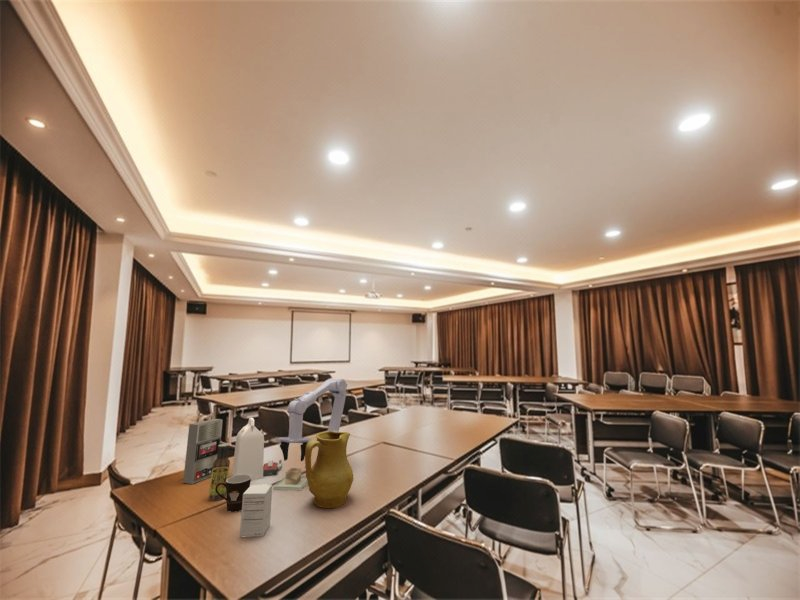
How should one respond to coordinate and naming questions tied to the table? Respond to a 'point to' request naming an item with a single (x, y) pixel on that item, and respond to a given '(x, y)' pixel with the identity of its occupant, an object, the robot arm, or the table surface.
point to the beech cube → (293, 476)
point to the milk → (249, 452)
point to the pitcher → (329, 469)
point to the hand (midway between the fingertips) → (294, 460)
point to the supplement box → (256, 510)
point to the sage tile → (283, 486)
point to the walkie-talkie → (271, 468)
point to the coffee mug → (235, 491)
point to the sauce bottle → (219, 473)
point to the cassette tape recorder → (202, 449)
